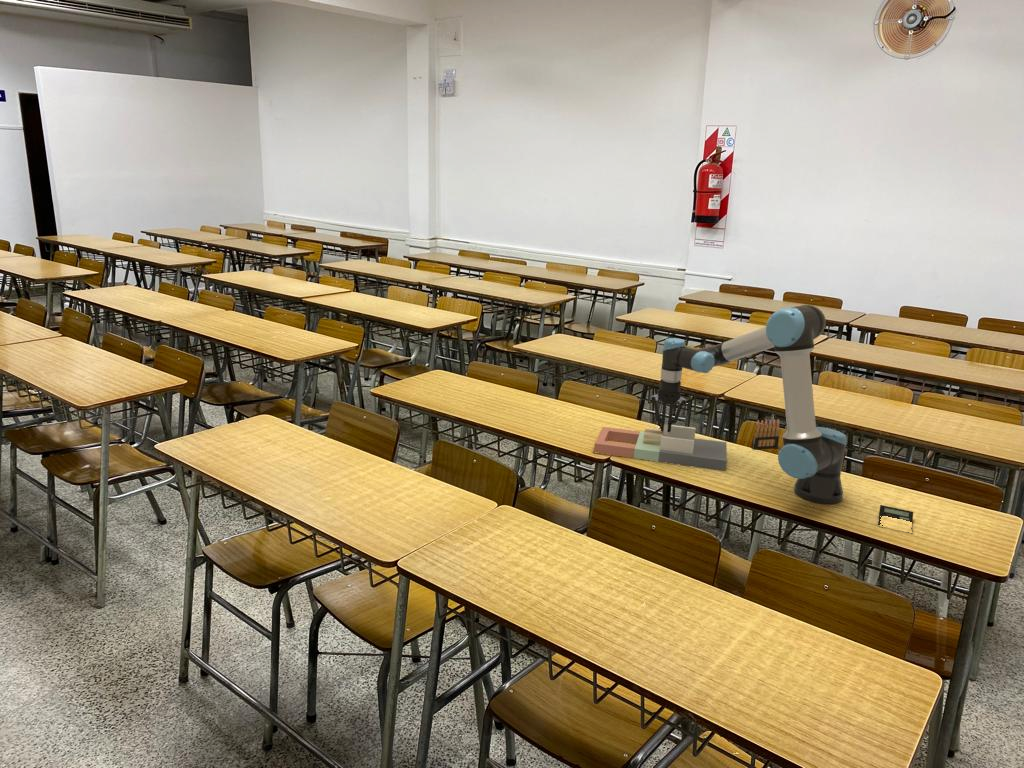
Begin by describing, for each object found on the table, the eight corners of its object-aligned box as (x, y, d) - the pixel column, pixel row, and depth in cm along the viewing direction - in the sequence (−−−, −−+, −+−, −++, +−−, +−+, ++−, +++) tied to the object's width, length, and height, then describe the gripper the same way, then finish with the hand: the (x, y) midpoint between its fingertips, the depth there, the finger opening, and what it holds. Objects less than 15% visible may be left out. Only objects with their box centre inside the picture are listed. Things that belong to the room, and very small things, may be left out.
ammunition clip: (775, 446, 285) (779, 418, 281) (777, 448, 283) (782, 419, 279) (750, 448, 282) (754, 419, 279) (753, 449, 280) (757, 420, 277)
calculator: (877, 527, 221) (879, 518, 220) (878, 512, 231) (880, 504, 230) (912, 535, 216) (913, 526, 216) (911, 519, 226) (913, 511, 226)
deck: (725, 471, 258) (728, 447, 256) (593, 453, 270) (595, 430, 268) (725, 451, 277) (727, 429, 274) (602, 436, 289) (603, 414, 286)
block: (661, 445, 269) (662, 435, 268) (643, 443, 271) (644, 433, 270) (663, 439, 276) (664, 430, 275) (645, 437, 278) (645, 427, 276)
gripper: (689, 379, 267) (682, 438, 274) (653, 375, 270) (648, 434, 277) (688, 384, 260) (681, 445, 267) (652, 380, 263) (646, 440, 270)
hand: (664, 439), depth 272 cm, fingers closed
